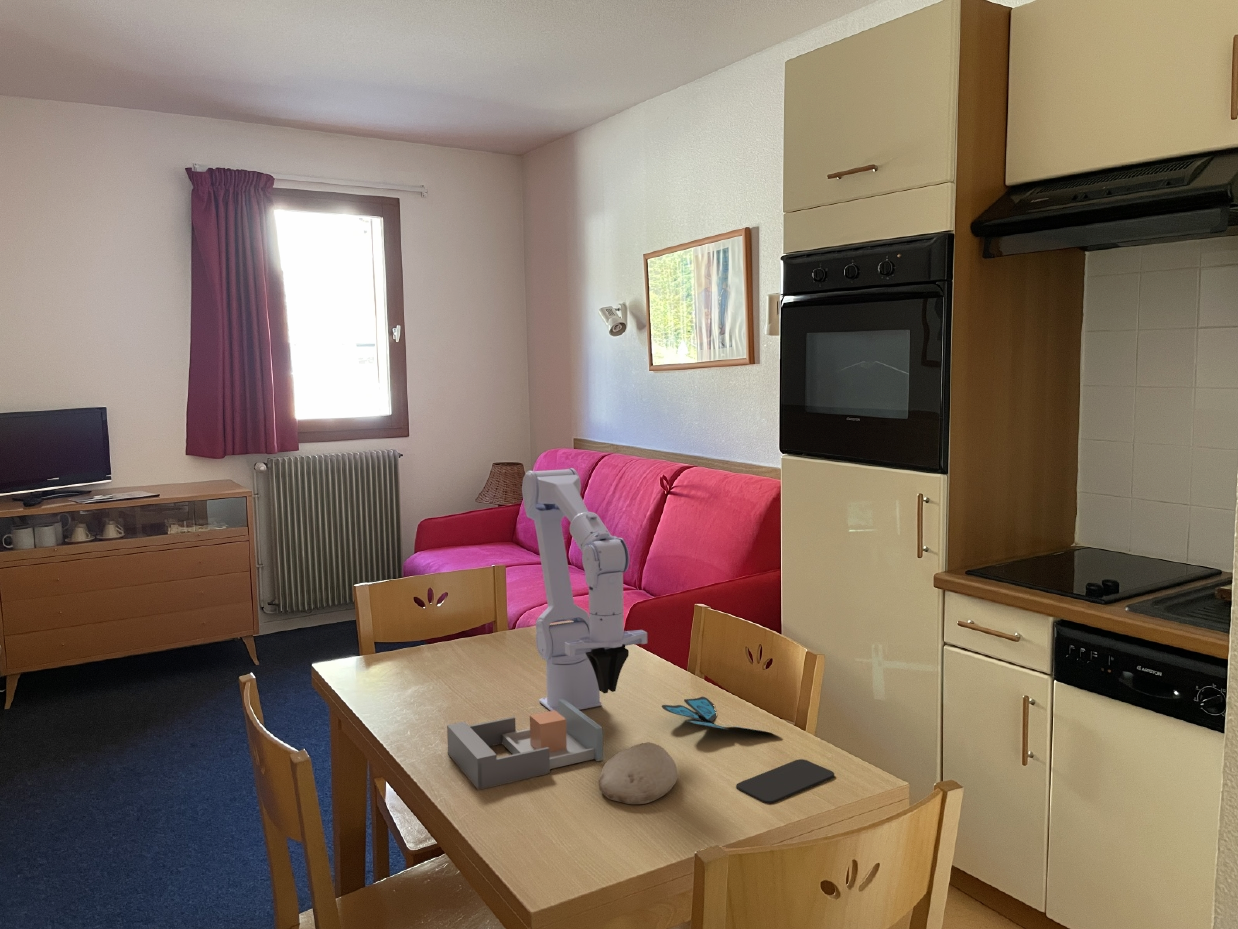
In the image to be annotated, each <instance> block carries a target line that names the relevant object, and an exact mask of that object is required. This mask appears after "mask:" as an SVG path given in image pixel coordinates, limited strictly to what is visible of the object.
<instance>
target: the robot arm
mask: <svg viewBox="0 0 1238 929" xmlns="http://www.w3.org/2000/svg"><path fill="white" fill-rule="evenodd" d="M581 484H582V483H581V478H580V475H579V473H578V472H577V470H576V469H575V468H574V467H573V468H572V467H571V468H565V469H551V470H550V469H549V470H538V471H537V470H527V471H526V473H525V474H524V476H523V478H522V486H521V493H522V499H523V507H524V511H525V515H526V517H527V518H529V519H531V520H533V522H534V527H535V531H536V537H537V538H536V539H537V544H538V551H539V558H540V563H541V570H542V576H543V577H542V578H543V583H544V588H545V589H544V590H545V597H546V602H547V608H546V609H545V610H544V611H543V612H542V613H541V614H540V615H538V617H537V619H536V621H535V632H536V633H535V644H536V649H537V653H538V655H539V656H540V658H542V660H544V661H545V665H546V666H545V667H546V668H545V669H546V670H545V673H546V697H542V698H539V699H538V702H539V703H540V704H542V705H543V706H544V707H545V708H547V709H548V710H549V711H554V710H555V711H556V712H558V713H559V707H558V700H559V699H565V700H566V701H568V702H569V703H570V704H572V705H573V706H574V707H576V708H577V709H578V710H580V711H581V710H585V709H586V710H587V709H591V708H597V707H600V706H602V705H603V704H602V702H601V701H600V699H601V698H600V697H601V696H600V694H601V693H603V694H608V693H609V691H610V692H612V693H614V692H616V690H617V686H618V682H619V681H618V680H619V678H620V674H621V672H622V669H623V666H624V665H625V663H626V661H627V660H628V658H629V654H630V651H629V649H627V648H626V646H632V645H638V644H641V645H645V644H648V632H647V631H645V630H643V629H638V630H627V631H626V630H624V573H627V570H628V569H629V566H630V551H629V548H628V546H627V543H626V542H625V540H624V538H622V537H617V535H612V534H611V533H610V531H609V530H608V528H607V526H606V525H605V524H604V523H603V521H602V518H600V516H599V515H598V514H597V513H595V512H593V511H589V510H588V508H587V506H586V504H585V502H584V500H583V498H582V495H581V490H582V486H581ZM565 517H566V519H568V521H569V522H570V525H569V533H570V535H571V537H572V539H573V540H574V542H575V543H576V545H577V547H578V548H579V550H580V552H581V553H582V555H581V559H582V560H581V561H582V562H581V563H582V566H583V569H584V576H585V577H584V578H585V580H584V581H585V583H586V585H587V586H588V611H586V609H583V608H582V607H580V606H578V605H577V604H576V603H575V601H574V595H573V594H574V593H573V589H572V581H571V576H570V569H569V564H568V558H567V552H566V545H565V539H564V533H563V528H562V527H563V526H562V521H563V518H565ZM568 621H569V622H568Z"/></svg>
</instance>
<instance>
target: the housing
mask: <svg viewBox="0 0 1238 929" xmlns="http://www.w3.org/2000/svg"><path fill="white" fill-rule="evenodd" d="M446 732H447V735H446V738H447V754H448V756H450V758H451V759H452V760H453V761H454V763H455V764H456V765H457V766H458V768H459V769H460V770H461V771H462V772H463V773H464V774H465V776H466V777H467V778H468V779H469V780H470V782H471V783H472V784H473V785H474V786H475V789H477V790H478V791H479V790H484V789H487V788H493V787H497V786H500V785H506V784H508V783H513V782H514V783H515V782H517V781H521V780H522V781H523V780H527V779H531V778H535V777H539V776H543V775H549V774H551V773H550V772H551V769H550V754H549V748H548V747H545V748H541V749H536V750H532V751H527V752H522V753H518V754H509V755H505V756H500V757H497V753H495V751H494V750H493V749H492V748H491V747H492V746H497V745H503V744H502V734H506V733H511V732H516V717H515V716H512V717H511V716H510V717H506V718H500V719H495V720H491V721H486V722H479V723H474V724H470V725H468V723H467V722H466V721H460V722H457V723H456V722H455V723H451V724H450V723H449V724H447V725H446ZM548 773H549V774H548Z"/></svg>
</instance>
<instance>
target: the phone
mask: <svg viewBox="0 0 1238 929" xmlns="http://www.w3.org/2000/svg"><path fill="white" fill-rule="evenodd" d="M833 779H835V772H834V771H832V770H830V769H828V768H825V767H824V766H821V765H819V764H816V763H813V762H811V761H809V760H807V759H803V758H801V759H796V760H793V761H790V762H788V763H785V764H783V765H780V766H778V767H775V768H773V769H770V770H768V771H765V772H763V773H760V774H758V775H756V776H752V777H750V778H748V779H745V780H743V781H740V782H738V783H736V785H735V788H736V790H737V791H738V792H741V793H742V794H745V795H747V796H749V797H751V798H753V799H755V800H757V801H759V802H760V803H763V804H768V805H772V804H775V803H778V802H780V801H783V800H785V799H788V798H790V797H792V796H796V795H797V794H800V793H801V792H805V791H807V790H809V789H812V788H814V787H817V786H819V785H821V784H823V783H826V782H828V781H831V780H833Z"/></svg>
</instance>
